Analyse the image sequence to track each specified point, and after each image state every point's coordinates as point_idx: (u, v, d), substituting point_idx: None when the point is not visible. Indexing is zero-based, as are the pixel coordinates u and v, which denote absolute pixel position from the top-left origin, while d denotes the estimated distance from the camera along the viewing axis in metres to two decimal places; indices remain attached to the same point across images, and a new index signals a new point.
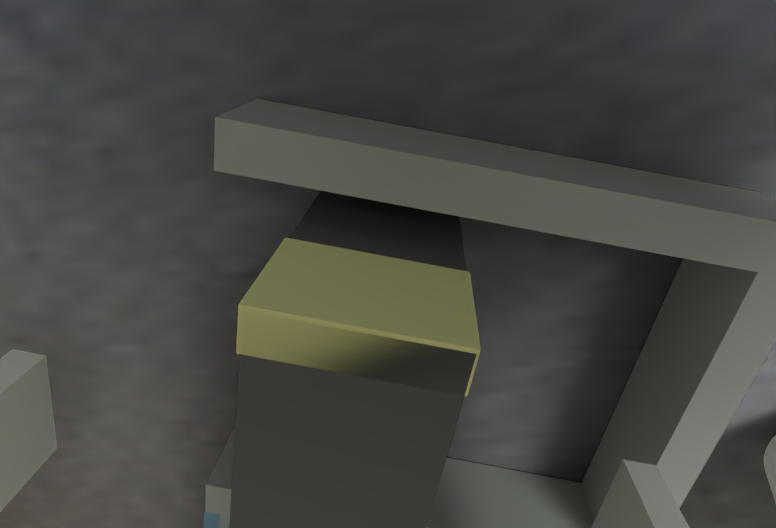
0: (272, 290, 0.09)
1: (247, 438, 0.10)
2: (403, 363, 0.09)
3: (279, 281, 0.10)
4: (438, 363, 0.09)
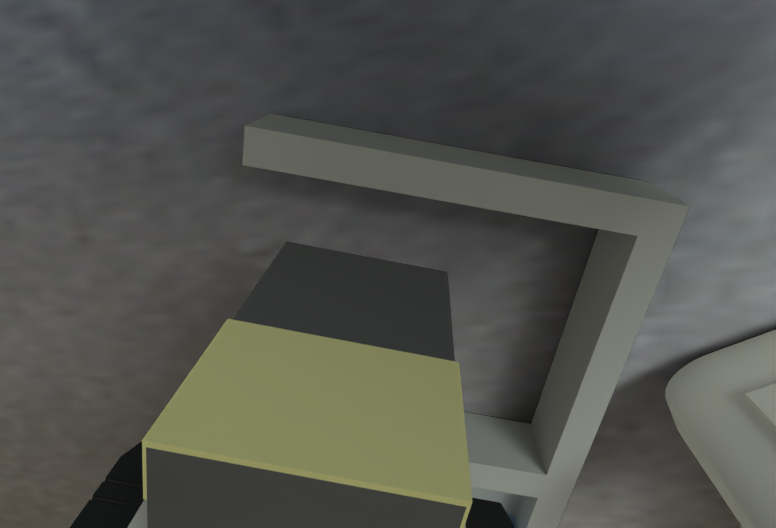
0: (195, 411, 0.07)
1: None
2: (369, 516, 0.07)
3: (207, 394, 0.07)
4: (415, 517, 0.07)
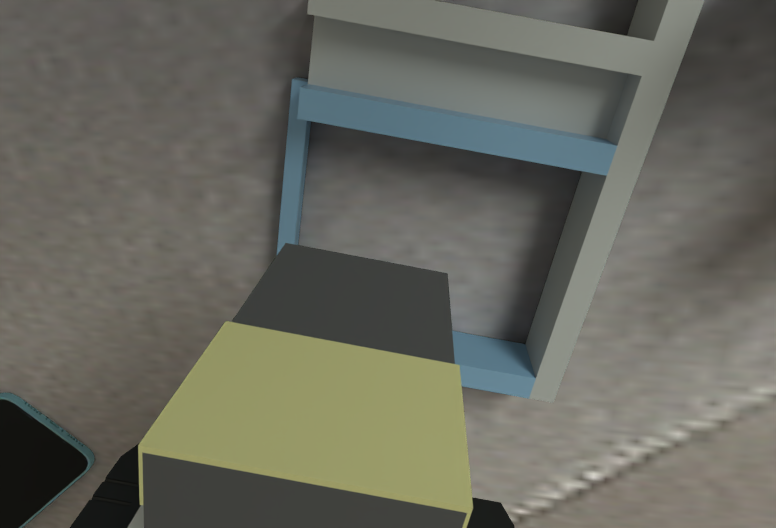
0: (191, 415, 0.07)
1: None
2: (367, 522, 0.07)
3: (205, 397, 0.07)
4: (414, 523, 0.07)
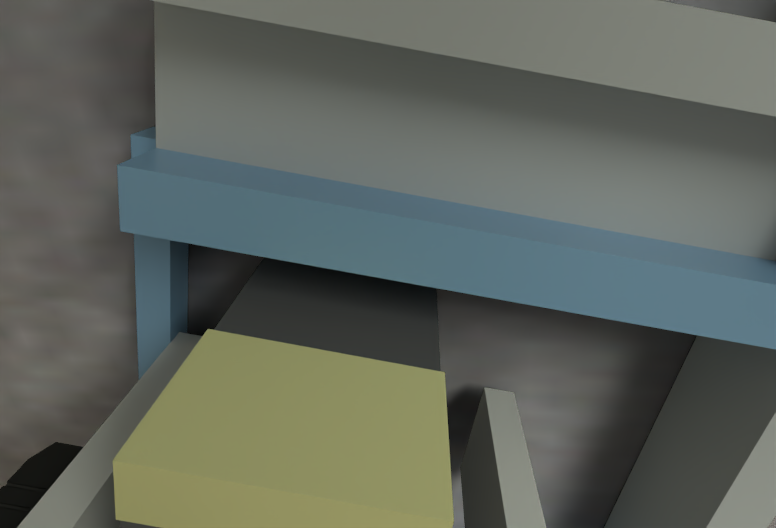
0: (169, 428, 0.07)
1: None
2: None
3: (183, 409, 0.07)
4: None
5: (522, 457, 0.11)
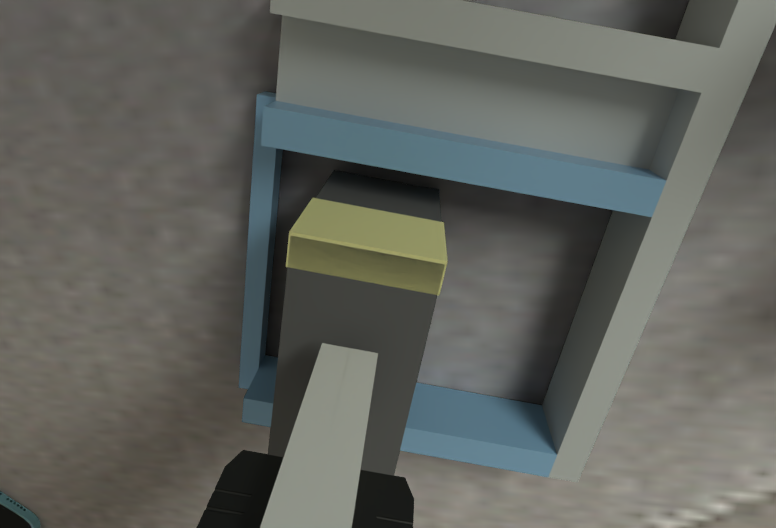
0: (309, 225, 0.14)
1: (290, 330, 0.15)
2: (397, 272, 0.14)
3: (313, 221, 0.14)
4: (420, 272, 0.14)
5: (362, 407, 0.12)
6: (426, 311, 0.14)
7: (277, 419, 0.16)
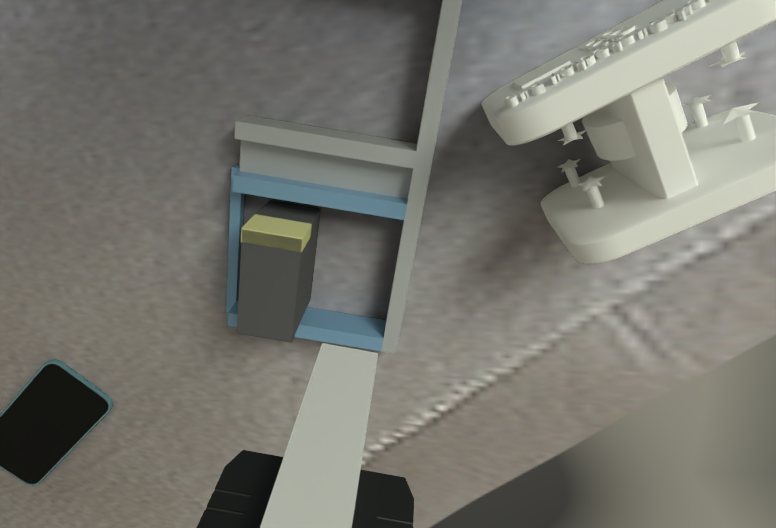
0: (250, 225, 0.35)
1: (243, 268, 0.36)
2: (284, 243, 0.35)
3: (252, 223, 0.36)
4: (293, 242, 0.35)
5: (362, 407, 0.12)
6: (297, 258, 0.35)
7: (240, 309, 0.37)
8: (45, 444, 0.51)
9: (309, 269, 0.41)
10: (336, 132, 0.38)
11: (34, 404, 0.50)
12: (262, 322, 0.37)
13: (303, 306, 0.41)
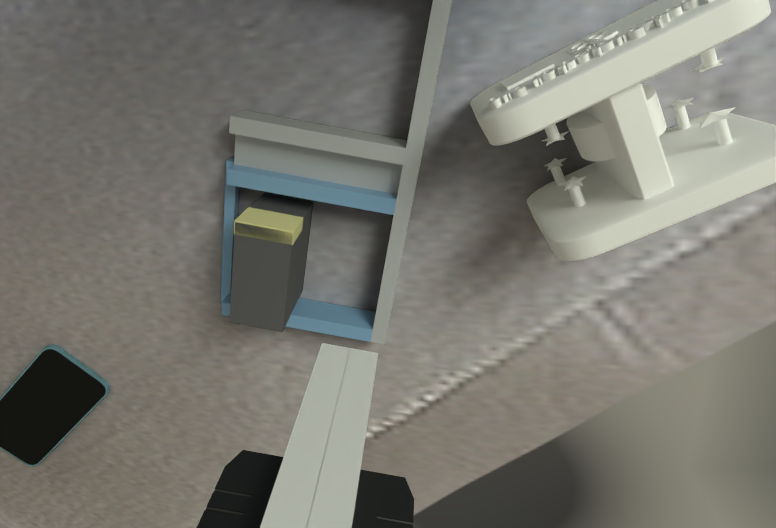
0: (243, 218, 0.36)
1: (236, 259, 0.37)
2: (275, 236, 0.36)
3: (245, 216, 0.37)
4: (284, 235, 0.36)
5: (362, 407, 0.12)
6: (288, 251, 0.36)
7: (233, 299, 0.38)
8: (44, 426, 0.53)
9: (301, 261, 0.42)
10: (328, 128, 0.39)
11: (33, 388, 0.51)
12: (254, 312, 0.38)
13: (295, 297, 0.42)
